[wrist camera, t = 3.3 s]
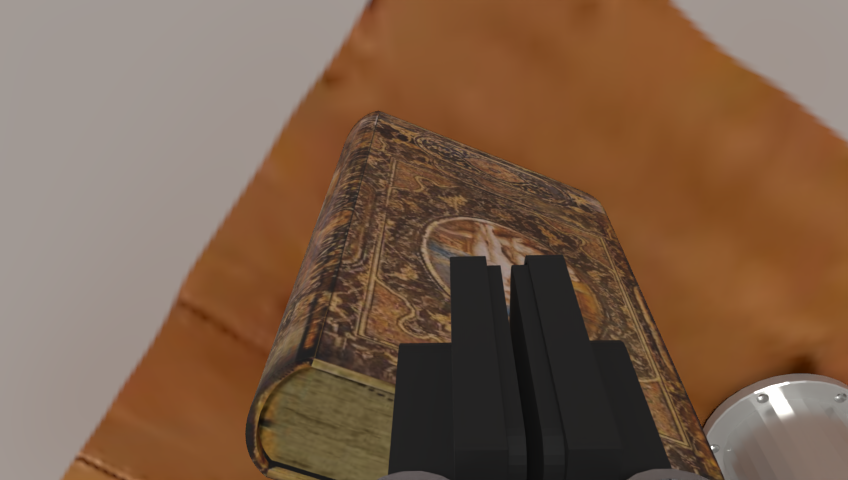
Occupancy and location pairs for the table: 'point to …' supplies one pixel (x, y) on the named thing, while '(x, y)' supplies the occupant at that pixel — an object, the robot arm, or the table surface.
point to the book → (433, 297)
